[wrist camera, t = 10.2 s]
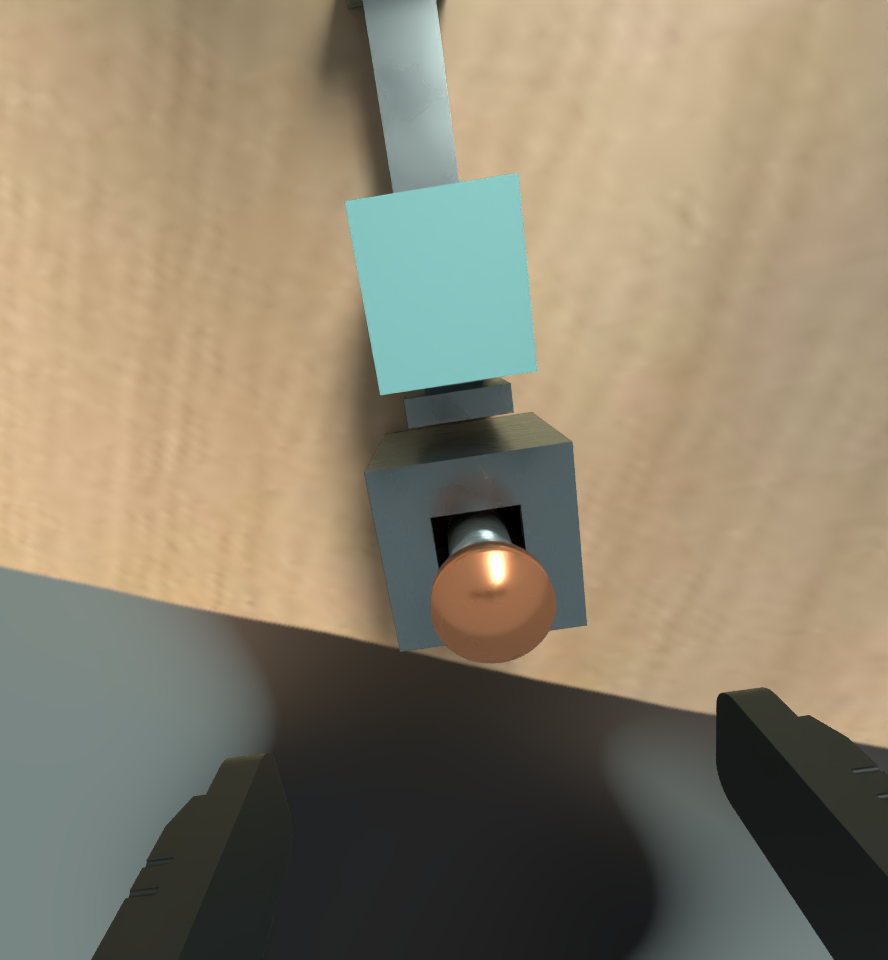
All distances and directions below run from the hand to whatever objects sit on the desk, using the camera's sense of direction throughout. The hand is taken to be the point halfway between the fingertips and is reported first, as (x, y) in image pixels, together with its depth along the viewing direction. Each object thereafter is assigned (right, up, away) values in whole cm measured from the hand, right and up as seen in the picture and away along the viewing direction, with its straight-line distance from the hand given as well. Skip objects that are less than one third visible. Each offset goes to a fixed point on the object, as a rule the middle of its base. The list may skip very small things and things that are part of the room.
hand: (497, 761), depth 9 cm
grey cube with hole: (0, +4, +19) cm, 19 cm away
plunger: (+1, +3, +13) cm, 14 cm away
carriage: (-1, +13, +14) cm, 20 cm away
